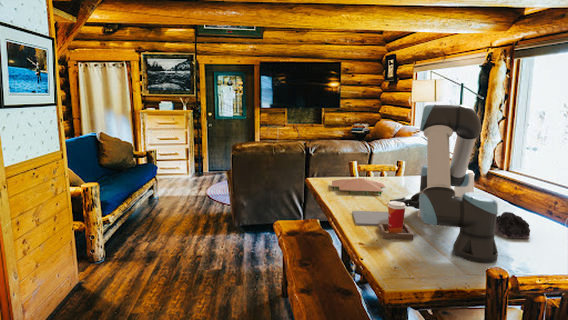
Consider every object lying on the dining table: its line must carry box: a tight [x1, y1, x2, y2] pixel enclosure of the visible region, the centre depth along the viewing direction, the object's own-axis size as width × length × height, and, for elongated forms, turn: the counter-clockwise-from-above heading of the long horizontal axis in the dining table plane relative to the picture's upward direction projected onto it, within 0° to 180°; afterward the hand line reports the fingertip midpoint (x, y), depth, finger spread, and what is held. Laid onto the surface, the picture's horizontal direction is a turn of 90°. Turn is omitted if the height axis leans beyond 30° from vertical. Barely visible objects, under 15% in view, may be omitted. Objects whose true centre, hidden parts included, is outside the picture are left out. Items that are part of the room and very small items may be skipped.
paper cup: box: [387, 201, 407, 233], centre depth 154 cm, size 8×8×14 cm
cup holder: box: [377, 223, 414, 241], centre depth 155 cm, size 12×12×2 cm
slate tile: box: [352, 210, 388, 227], centre depth 174 cm, size 18×18×1 cm
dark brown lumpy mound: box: [495, 211, 531, 239], centre depth 154 cm, size 13×14×10 cm
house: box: [331, 178, 386, 196], centre depth 225 cm, size 23×33×8 cm
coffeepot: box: [453, 167, 476, 197], centre depth 205 cm, size 11×25×19 cm, turn 168°
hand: (403, 210), depth 160 cm, fingers open, 13 cm apart
